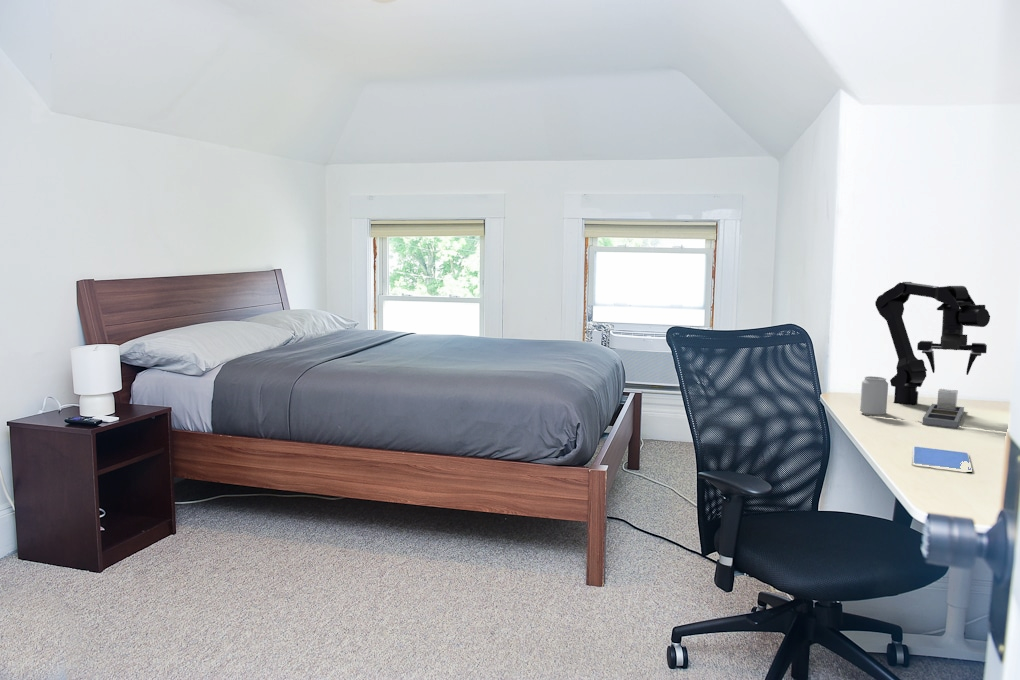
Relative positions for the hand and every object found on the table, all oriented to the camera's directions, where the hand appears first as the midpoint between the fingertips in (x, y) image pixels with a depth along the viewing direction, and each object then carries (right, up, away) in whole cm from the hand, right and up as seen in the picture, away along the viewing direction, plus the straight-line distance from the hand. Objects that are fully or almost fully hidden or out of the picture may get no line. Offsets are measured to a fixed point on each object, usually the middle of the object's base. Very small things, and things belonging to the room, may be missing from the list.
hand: (950, 373), depth 232 cm
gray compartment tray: (-5, -14, -5) cm, 16 cm away
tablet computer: (-35, -20, -53) cm, 66 cm away
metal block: (0, -12, +1) cm, 13 cm away
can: (-25, -13, 0) cm, 28 cm away
